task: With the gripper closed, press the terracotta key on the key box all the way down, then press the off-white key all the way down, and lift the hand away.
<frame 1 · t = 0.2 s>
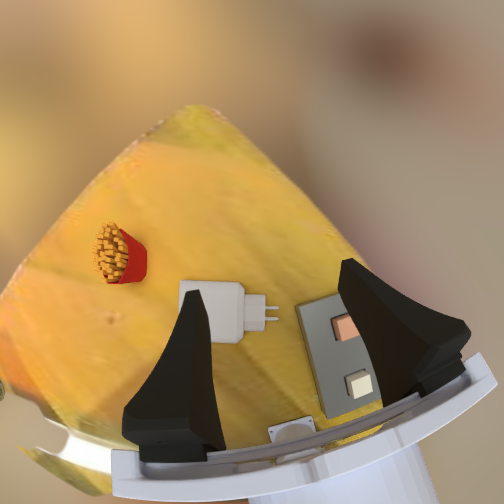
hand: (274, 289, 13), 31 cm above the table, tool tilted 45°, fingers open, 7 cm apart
key box: (342, 350, 42), on the table
terracotta key: (346, 326, 38), point 5 cm above the table, slide at 0.0 cm
offwhite key: (358, 384, 37), point 5 cm above the table, slide at 0.0 cm
charger: (230, 311, 44), on the table
french fries: (137, 261, 45), on the table
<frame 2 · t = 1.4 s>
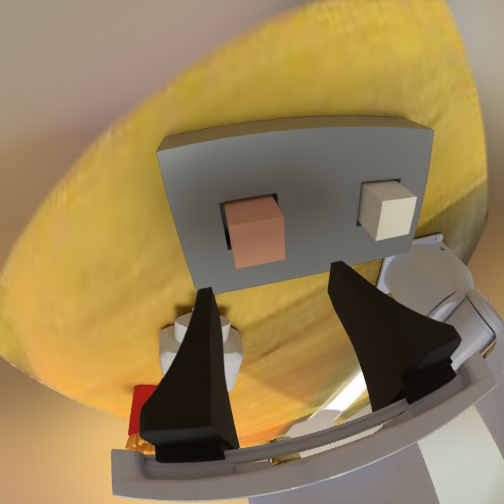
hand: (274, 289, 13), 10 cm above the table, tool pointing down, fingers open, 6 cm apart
key box: (302, 188, 22), on the table
terracotta key: (254, 230, 18), point 5 cm above the table, slide at 0.0 cm
ceramic cup: (277, 439, 73), on the table
offwhite key: (385, 208, 18), point 5 cm above the table, slide at 0.0 cm
charger: (199, 332, 31), on the table
french fries: (152, 388, 39), on the table
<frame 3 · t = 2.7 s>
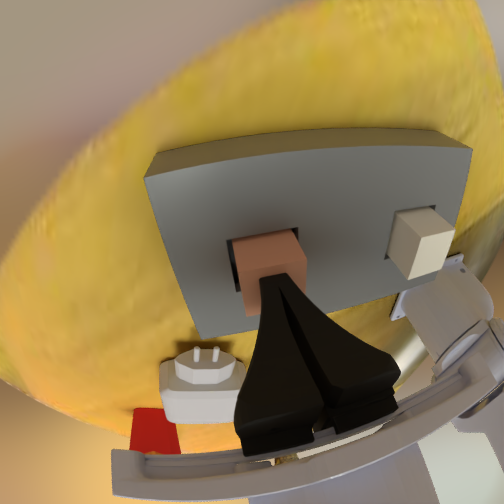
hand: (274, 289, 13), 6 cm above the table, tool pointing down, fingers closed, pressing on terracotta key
key box: (322, 212, 19), on the table
terracotta key: (268, 270, 14), point 5 cm above the table, slide at 0.3 cm, touching gripper
ceramic cup: (280, 450, 70), on the table
offwhite key: (419, 240, 15), point 5 cm above the table, slide at 0.0 cm
charger: (201, 364, 28), on the table
french fries: (152, 411, 35), on the table
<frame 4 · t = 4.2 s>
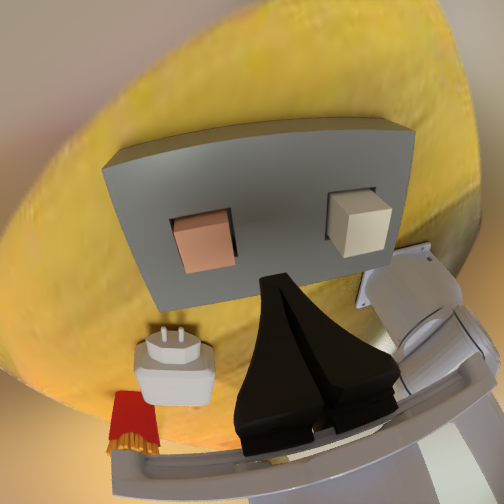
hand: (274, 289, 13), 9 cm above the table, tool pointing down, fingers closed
key box: (268, 198, 21), on the table
terracotta key: (204, 235, 17), point 4 cm above the table, slide at 1.4 cm
ceramic cup: (266, 443, 72), on the table
offwhite key: (357, 221, 17), point 5 cm above the table, slide at 0.0 cm
charger: (174, 347, 31), on the table
french fries: (133, 394, 37), on the table
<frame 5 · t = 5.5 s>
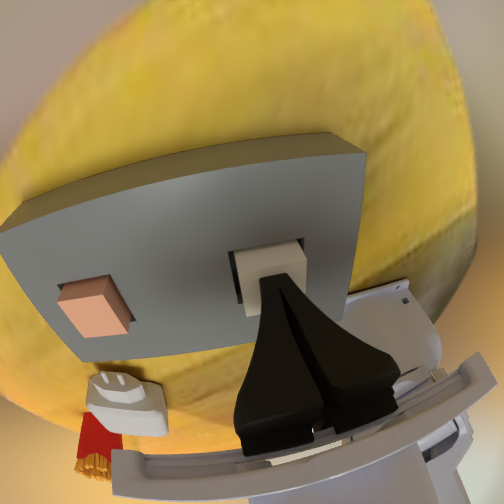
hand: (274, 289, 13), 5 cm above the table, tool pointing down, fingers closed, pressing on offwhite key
key box: (178, 246, 17), on the table
terracotta key: (97, 299, 14), point 4 cm above the table, slide at 1.4 cm
offwhite key: (268, 270, 14), point 4 cm above the table, slide at 1.2 cm, touching gripper
charger: (126, 383, 28), on the table
french fries: (101, 416, 34), on the table
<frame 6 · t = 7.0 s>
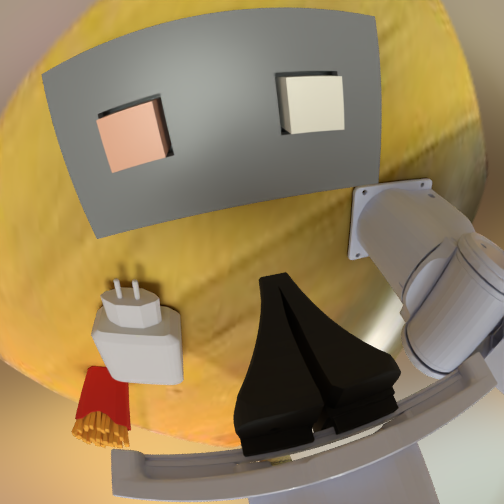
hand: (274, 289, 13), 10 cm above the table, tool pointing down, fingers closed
key box: (219, 105, 16), on the table
terracotta key: (136, 132, 13), point 4 cm above the table, slide at 1.4 cm
ceramic cup: (266, 438, 68), on the table
offwhite key: (307, 101, 14), point 4 cm above the table, slide at 1.4 cm
charger: (139, 314, 28), on the table
french fries: (106, 372, 34), on the table
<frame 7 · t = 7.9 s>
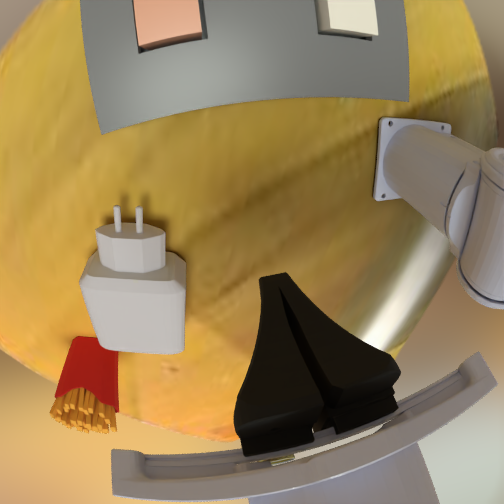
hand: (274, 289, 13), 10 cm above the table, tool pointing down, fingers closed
key box: (249, 18, 13), on the table
terracotta key: (169, 17, 10), point 4 cm above the table, slide at 1.4 cm
ceramic cup: (266, 432, 65), on the table
offwhite key: (341, 11, 11), point 4 cm above the table, slide at 1.4 cm
charger: (138, 264, 24), on the table
french fries: (94, 344, 30), on the table
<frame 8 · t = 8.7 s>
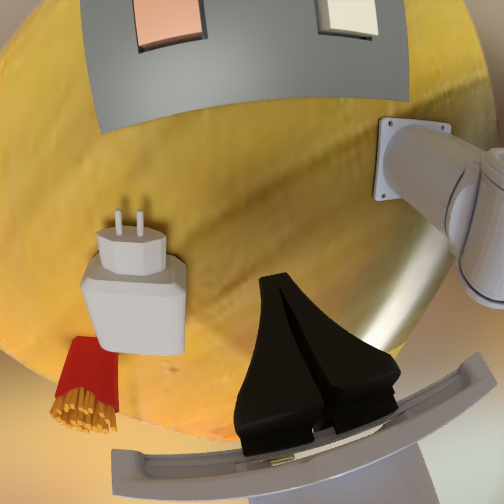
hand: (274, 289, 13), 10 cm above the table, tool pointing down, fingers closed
key box: (249, 18, 13), on the table
terracotta key: (169, 17, 10), point 4 cm above the table, slide at 1.4 cm
ceramic cup: (266, 432, 65), on the table
offwhite key: (341, 11, 11), point 4 cm above the table, slide at 1.4 cm
charger: (138, 267, 24), on the table
french fries: (94, 344, 30), on the table
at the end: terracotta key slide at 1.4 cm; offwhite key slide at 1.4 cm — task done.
